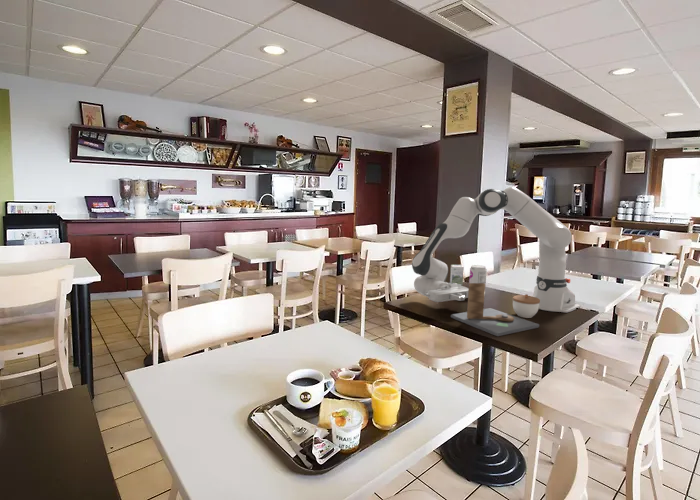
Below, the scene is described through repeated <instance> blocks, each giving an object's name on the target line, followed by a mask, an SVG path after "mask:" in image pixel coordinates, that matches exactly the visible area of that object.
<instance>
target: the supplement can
mask: <svg viewBox="0 0 700 500" xmlns="http://www.w3.org/2000/svg"><path fill="white" fill-rule="evenodd" d="M487 273H488V271H487V267H486V266H485V265H479V264H477V265H475V264H474V265H473V264H472V265H471V266H470V268H469V280H468V281H469V282H468V284H469V283H484V284H485V290H486V288H487V287H486V286H487ZM485 295H486V293H485V294H484V296H485Z"/></svg>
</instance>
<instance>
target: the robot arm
mask: <svg viewBox="0 0 700 500" xmlns="http://www.w3.org/2000/svg"><path fill="white" fill-rule="evenodd" d="M500 210H503V211H505V212H508V214H509V215H510V216H512V217H513V218H514V219H515V220H516V221H518V223H520V224H521V225H522V226H523V227H524V228H526V229H527V230H528V231H529V232H531V234H533V235H534V236H535V237H537V238H538V241H539V242H538V243H539V244H538V250H539V251H538V255H539V258H538V259H539V260H538V261H539V263H538V273H537V276H536V280H535V281H536V282H535V283H536V285H535V286H534V289H533V295H532V297H536V298H538V299H540V303H539V309H538V310H542V311H546V312H547V311H548V312H559V313H560V312H561V313H570V312H573V311H575V310H577V309H576V308H578V309H580V308H581V304H578V303H576V296H575V293H574V292H573V291H571V289H570V288H569V287H568V285H567V284H570V283H571V278H566V268H567V258H566V257H567V255H566V248H567V247H568V246H569V245H570V244H571V242H572V239H573V234H572V232H571V230H570V229H569V228H568V227H567V226H566V225H565V224H564V223H562V222H561V221H560V220H558V219H557V218H556V217H555V216H553V215H552V214H551V213H549V212H548V211H547V210H546V209H544V208H543V207H542V206H541V205H540V204H538V202H536V201H535V200H534V199H532V198H531V197H530V195H527V194H526V193H525V192H523V191H522V190H520V189H518V188H516V187H514V186H509V187H506V188H504V189H503V190H501V189H496V188H488V189H485V190H483V191H482V192H480V193H479V194H478V196H476V198H471V197H469V196H462V197H460V198H459V199H458V200H457V202H456V203H455V204H454V205H453V207H452V209H451V211H450V213H449V215H448V217H447V218H446V220H444V222H442V223H439V224H438V225H436V227H435V229H433V231H432V232H431V234H430V235H429V236H428V239H427V240H426V241H425V243H424V244H423V246H422V248H421V249H420V250H419V252H418V253H417V254H416V255H415V256H414V257H413V258H412V260H411V261H412V262H411V267H412V270H413V272H414V274H417V275H419V276H417V277H416V278H415V280H414V282H413V286H414V290H415V291H416V292H417V293H418V294H420V295H422V296H425V297H427V298H428V299H429V300H430V301H432V302H435V303H442V302H448V301H465V299H468V291H469V287H466V286H463V285H462V286H460V285H457V283H450V282H447V281H446V280H447V278H448V275H449V267H448V264H446V263H445V262H444V261H442V260H440V259H437V258H435V257H433V255H434V253H435V251H436V250H437V248H438V247H439V245H440V244H441V243H442V242H443V240H447V239H460V238H463V237H464V236H465V235H467V233H468V232H469V231H470V228H471V226H472V224H473V222H474V220H475V219H476V216H481V217H482V216H483V217H488V216H491V215H493V214H494V215H495V214H496V213H497V212H498V211H500Z"/></svg>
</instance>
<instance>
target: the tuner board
mask: <svg viewBox="0 0 700 500" xmlns="http://www.w3.org/2000/svg"><path fill="white" fill-rule="evenodd" d="M496 315H502V317H504V318H508V316H507V315H509V316H512V317H514V321H512V322H504V321H500V320H497V319H468V318H467V311H465V312H464V311H463V312H459V313H452V314H450V318H451V319H454V320H456V321H459V322H460V323H464V324H466V325H469V326H471V327H473V328H476V329H478V330H481V331H483V332H486V333H488V334H491V335H494V336H496V337H500V336H505V335H510V334H515V333H519V332H524V331H528V330H534V329H539V328H540V324H539V323H535V322H534V321H530V320H527V319H525V318H523V317H520V316H515V315H513V314H509V313H508V312H505V311H504V312H503V311H501V310H498V309H495V308H491V307H489V308H484V309H483V316H496Z"/></svg>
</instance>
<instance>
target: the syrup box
mask: <svg viewBox="0 0 700 500" xmlns="http://www.w3.org/2000/svg"><path fill="white" fill-rule="evenodd" d="M449 276H450V277H449V283H457V285H460V286H463V281H464V266H463V265H462V264H450V274H449Z"/></svg>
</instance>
